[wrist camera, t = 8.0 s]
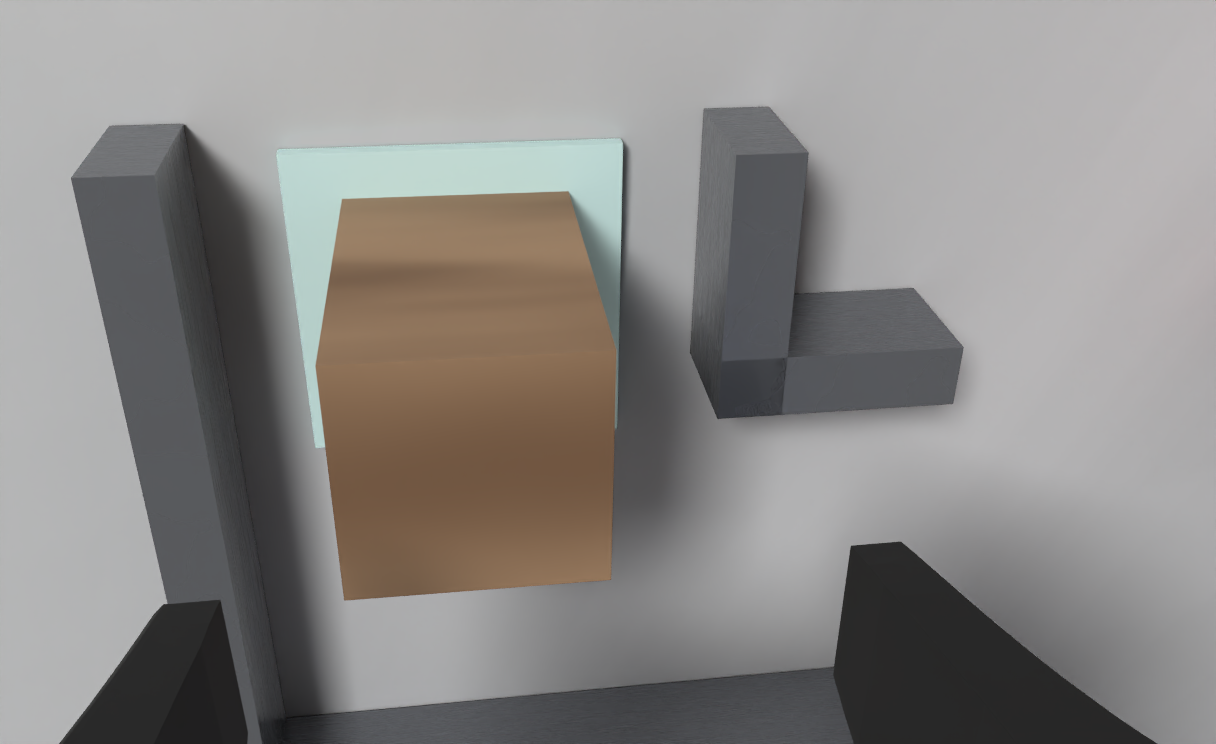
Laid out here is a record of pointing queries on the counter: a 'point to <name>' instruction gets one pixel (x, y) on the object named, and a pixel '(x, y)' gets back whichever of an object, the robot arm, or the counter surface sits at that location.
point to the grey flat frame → (720, 347)
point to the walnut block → (466, 396)
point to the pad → (439, 170)
